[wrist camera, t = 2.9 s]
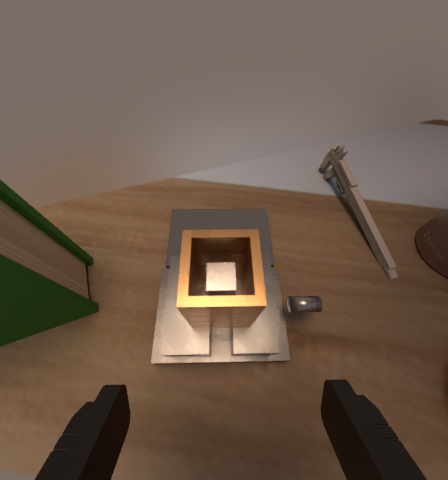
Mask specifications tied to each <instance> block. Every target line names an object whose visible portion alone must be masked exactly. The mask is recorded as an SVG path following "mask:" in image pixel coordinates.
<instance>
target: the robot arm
mask: <svg viewBox="0 0 448 480" xmlns="http://www.w3.org/2000/svg"><path fill="white" fill-rule="evenodd" d="M416 245H417V248H418V251H419V252H420V254H421V256H422V257H423V258H424V260H425V261H426V262H427V263H428V264H429V265H430V266H431V267H432V268H433V269H435V270H436V271H438V272H439V273H441V274H442V275H444V276H446V277H448V209H447V210H445V211H444V212H442V213H441V214H439V215H438V216H436V217H435V218H433V219H432V220H431V221H429V222H428V223H426V224H425V225H423V226H422V227H421V228H420V229H419V230H418V232H417V234H416ZM321 416H322V421H323V424H324V427H325V429H326V432H327V434H328V436H329V439H330V441H331V444H332V446H333V448H334V451H335V453H336V455H337V458H338V460H339V462H340V465H341V467H342V469H343V472H344V474H345V477H346V479H347V480H427V479H426V478H425V476H424V475H423V474H422V472H421V471H420V469H419V468H418V466H417V465H416V463H415V462H414V460H413V459H412V458H411V456H410V455H409V453H408V452H407V450H406V449H405V447H404V446H403V444H402V443H401V442H400V441H399V440H398V437H397V436H396V434H395V433H394V431H393V430H392V428H391V427H389V425H388V423H387V421H386V420H385V418H384V417H383V415H382V414H381V412H380V411H379V410H378V408H377V407H376V406H375V405H374V404H372V403H371V402H370V401H369V400H368V399H367V398H366V397H365V396H364V395H356V393H355V392H354V390H353V388H352V387H351V385H350V384H349V382H348V381H347V380H344V379H343V380H326V381H325V383H324V390H323V396H322V403H321ZM129 423H130V408H129V402H128V395H127V389H126V386H125V385H105V386H103V388H102V389H101V391H100V392H99V394H98V396H97V398H96V400H95V402H86V403H85V405H84V406H83V407H82V408H81V409H80V410H79V411H78V412H77V413H76V414H75V415H74V416H73V417H72V419H71V420H70V422H69V424H68V425H67V427H66V429H65V430H64V432H63V435H62V437H60V438H59V440H58V442H57V443H56V445H55V447H54V450H53V452H51V453H50V455H49V457H48V458H47V460H46V462H45V463H44V465H43V467H42V468H41V470H40V472H39V473H38V475H37V477H36V478H35V480H111V477H112V474H113V471H114V468H115V466H116V463H117V460H118V457H119V454H120V452H121V449H122V446H123V443H124V440H125V437H126V435H127V432H128V428H129Z"/></svg>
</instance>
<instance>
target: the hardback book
mask: <svg viewBox="0 0 448 480" xmlns="http://www.w3.org/2000/svg"><path fill="white" fill-rule="evenodd" d="M92 264H93V258H92V257H91V256H90V255H88V254H87V253H86V252H85V251H84V250H82V249H81V248H80V247H79V246H78V245H77V244H75V243H74V242H73V241H72V240H71V239H70V238H68V237H67V236H66V235H65V234H64V233H62V232H61V231H60V230H59V229H58V228H57V227H55V226H54V225H53V224H52V223H51V222H49V221H48V220H47V219H46V218H45V217H44V216H42V215H41V214H40V213H39V212H38V211H37V210H35V209H34V208H33V207H32V206H30V205H29V204H28V203H27V202H26V201H25V200H23V199H22V198H21V197H20V196H19V195H18V194H16V193H15V192H14V191H13V190H12V189H10V188H9V187H8V186H7V185H6V184H5V183H4V182H2V181H1V180H0V346H3V345H6V344H9V343H11V342H14V341H17V340H20V339H23V338H25V337H28V336H31V335H34V334H37V333H39V332H42V331H45V330H48V329H51V328H53V327H56V326H59V325H62V324H65V323H67V322H70V321H73V320H76V319H79V318H81V317H84V316H87V315H90V314H93V313H95V312H98V311H99V308H98V304H97V303H95V302H93V301H91V300H89V295H88V285H87V275H86V266H89V265H92Z"/></svg>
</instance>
